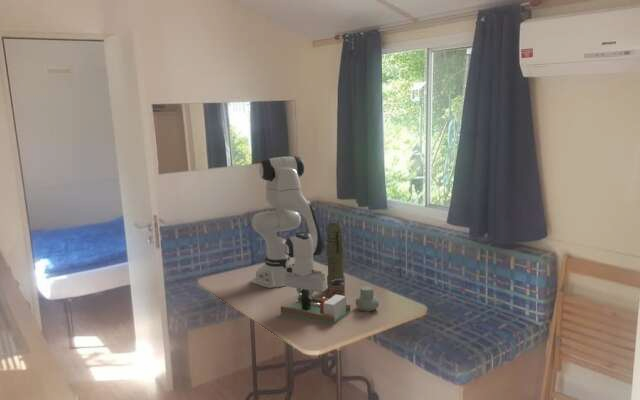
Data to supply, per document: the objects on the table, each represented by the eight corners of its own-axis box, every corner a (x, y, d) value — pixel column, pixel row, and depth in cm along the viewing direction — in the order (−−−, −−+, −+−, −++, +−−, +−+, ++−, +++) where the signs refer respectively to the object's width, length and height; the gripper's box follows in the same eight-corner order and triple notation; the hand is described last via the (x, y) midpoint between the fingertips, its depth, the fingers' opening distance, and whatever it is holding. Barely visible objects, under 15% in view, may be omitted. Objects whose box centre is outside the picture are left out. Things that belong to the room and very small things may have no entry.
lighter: (330, 301, 244) (329, 281, 242) (328, 299, 247) (327, 279, 245) (346, 299, 246) (345, 279, 244) (344, 296, 249) (343, 277, 248)
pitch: (280, 314, 231) (280, 297, 229) (299, 302, 244) (299, 286, 243) (333, 325, 217) (333, 307, 216) (350, 311, 231) (350, 294, 230)
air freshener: (353, 306, 237) (353, 285, 235) (369, 303, 240) (369, 283, 238) (364, 315, 227) (363, 293, 225) (380, 311, 230) (380, 290, 228)
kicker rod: (300, 309, 232) (299, 290, 230) (306, 305, 236) (305, 287, 234) (323, 314, 226) (322, 294, 224) (328, 310, 230) (328, 291, 229)
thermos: (337, 284, 268) (335, 218, 261) (349, 290, 258) (348, 222, 251) (322, 287, 263) (320, 221, 257) (335, 294, 253) (333, 225, 247)
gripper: (327, 269, 227) (328, 299, 230) (289, 264, 237) (290, 292, 240) (320, 273, 222) (321, 304, 224) (281, 267, 232) (283, 297, 234)
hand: (305, 298), depth 232 cm, fingers closed on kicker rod, 3 cm apart
